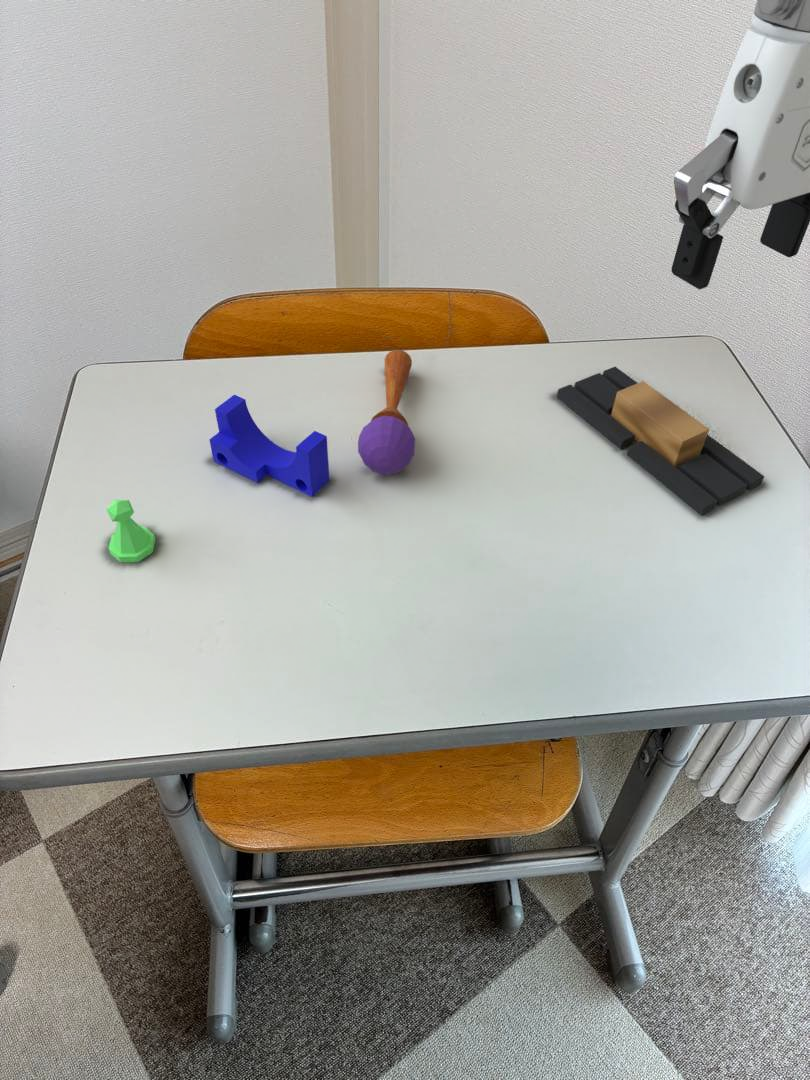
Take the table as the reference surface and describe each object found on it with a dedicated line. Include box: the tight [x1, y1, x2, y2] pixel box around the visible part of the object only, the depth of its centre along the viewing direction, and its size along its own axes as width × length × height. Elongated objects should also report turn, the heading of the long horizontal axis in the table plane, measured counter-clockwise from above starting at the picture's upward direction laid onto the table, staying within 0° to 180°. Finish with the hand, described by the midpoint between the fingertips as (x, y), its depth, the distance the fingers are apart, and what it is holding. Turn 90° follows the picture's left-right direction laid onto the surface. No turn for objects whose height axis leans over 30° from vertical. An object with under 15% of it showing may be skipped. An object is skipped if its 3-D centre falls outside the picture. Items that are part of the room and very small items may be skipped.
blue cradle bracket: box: [208, 394, 330, 498], centre depth 82 cm, size 12×4×6 cm, turn 58°
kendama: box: [357, 349, 416, 475], centre depth 88 cm, size 6×6×20 cm
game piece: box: [106, 499, 157, 563], centre depth 74 cm, size 4×4×6 cm
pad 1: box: [556, 366, 638, 450], centre depth 92 cm, size 11×9×1 cm
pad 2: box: [626, 434, 765, 516], centre depth 85 cm, size 11×9×1 cm
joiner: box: [610, 380, 710, 469], centre depth 88 cm, size 10×4×4 cm, turn 33°
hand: (734, 264), depth 61 cm, fingers open, 9 cm apart
